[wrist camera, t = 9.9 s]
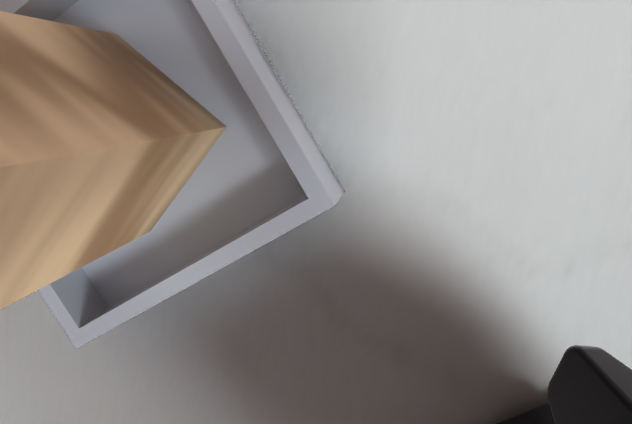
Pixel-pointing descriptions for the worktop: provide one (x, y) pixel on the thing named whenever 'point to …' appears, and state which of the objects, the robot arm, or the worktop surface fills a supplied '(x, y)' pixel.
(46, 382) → the worktop surface
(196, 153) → the oak block
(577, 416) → the robot arm
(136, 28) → the dish
